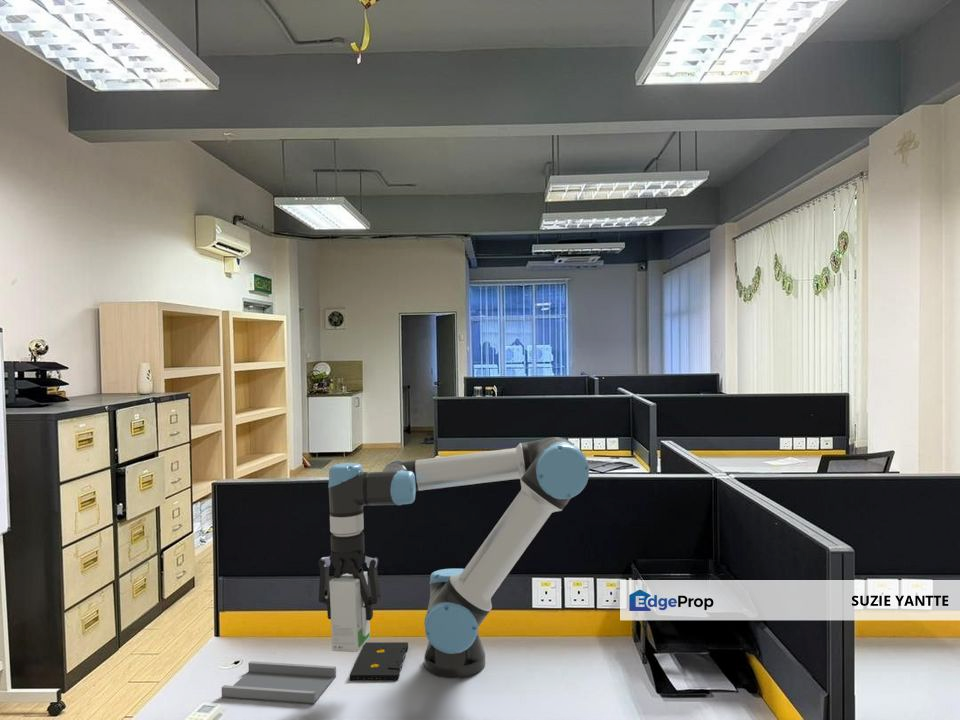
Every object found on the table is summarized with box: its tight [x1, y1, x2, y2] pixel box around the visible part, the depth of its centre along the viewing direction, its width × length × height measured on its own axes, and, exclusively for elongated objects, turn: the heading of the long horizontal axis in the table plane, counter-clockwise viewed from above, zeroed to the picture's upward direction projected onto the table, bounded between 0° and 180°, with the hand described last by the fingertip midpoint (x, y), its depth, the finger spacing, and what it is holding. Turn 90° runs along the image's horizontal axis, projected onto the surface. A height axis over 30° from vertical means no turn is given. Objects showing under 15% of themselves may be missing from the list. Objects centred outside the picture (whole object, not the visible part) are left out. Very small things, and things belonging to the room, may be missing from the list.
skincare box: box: [328, 571, 371, 653], centre depth 151 cm, size 8×7×16 cm
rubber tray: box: [221, 660, 337, 706], centre depth 154 cm, size 22×13×2 cm, turn 81°
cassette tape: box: [349, 641, 409, 682], centre depth 165 cm, size 18×12×2 cm, turn 178°
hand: (350, 633), depth 151 cm, fingers closed on skincare box, 6 cm apart
